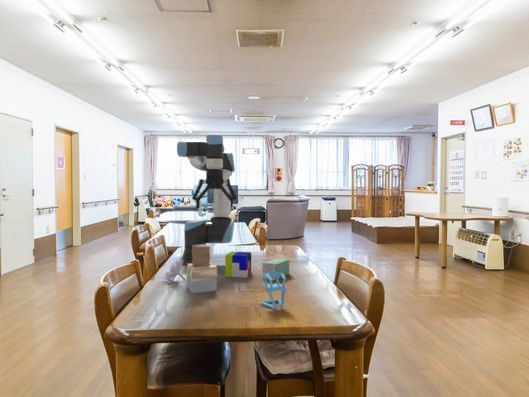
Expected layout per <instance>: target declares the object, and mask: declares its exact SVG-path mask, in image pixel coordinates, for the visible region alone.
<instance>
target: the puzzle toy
mask: <svg viewBox="0 0 529 397" xmlns="http://www.w3.org/2000/svg"><path fill="white" fill-rule="evenodd" d="M224 256H225V257H224V258H225V260H224V261H225V262H224V264H225V265H224V266H225V268H224V269H225V271H224V273H225V274H224V275H225V277H230V278H247V277H248V276H250V274H251V273H252V252H251V251H230V252H228V253H226V254H225V255H224Z"/></svg>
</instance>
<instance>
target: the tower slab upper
mask: <svg viewBox="0 0 529 397" xmlns="http://www.w3.org/2000/svg"><path fill="white" fill-rule="evenodd" d="M186 266H187V267H186V268H187V272H186V277H187V276H188V277H189V278H190V279H191V281H202V280H212V279H217V280H218V266H217V265H215V264H214V263H213V262H211V261H210V266H204V267H194V265H193V264H192V263H191V264H187V265H186Z"/></svg>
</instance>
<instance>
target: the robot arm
mask: <svg viewBox="0 0 529 397" xmlns="http://www.w3.org/2000/svg"><path fill="white" fill-rule="evenodd" d="M176 152H177V156H178V157H180V158H187V159H188V160H189V163H190V164H191V166H192V167H193V168H194V169H197V170H199V171H203V172H205V175H206V176H205V177H206V178H205V179H202V178H200V179H199V180H198V185H197V187H196V189H195V191H194V193H193V195H192V197H191V199H192V200H193V201H195V205H196V209H198V217H201V216H202V200H201V199H202V198H203V197H204V196H205V194H206V193H208V191H209V190H213V216H211V218H210V221H207V219H206V218H205V219H204V218H203V219H202V218H201V219H193V220H189V221H186V222H185V223H184V229H183V231H184V249H183V252H182V255H181V256H182V260H183V264H182V265H185V266H187V264H191V263H192V245H202V244H223V245H224V244H230V243H231V242H232V241H233V236H234V230H235V221H233V220H232V218H231V216H232V211H231V210H232V208H234V207H233V206H234V204H233V203H234V200H237V199H238V198H237V195H236V193H235V190H234V188H233V187H232V185H231V180H230V178H231V176H232V175H233V173H234V172H235V171H236V170H235V162H234V154H233V152H231V151H225V146H224V138H223V135H222V134H219V133H210V134H207V135H206V140H202V141H201V140H200V141H199V140H198V141H197V140H192V141H191V140H183V141H182V140H180V141H179V140H178V142H177V143H176ZM204 184H206V186H205V187H204V189H202V187H203V185H204ZM201 189H202V191H201ZM200 191H201V192H200ZM181 262H182V261H181Z"/></svg>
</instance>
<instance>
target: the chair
mask: <svg viewBox="0 0 529 397" xmlns="http://www.w3.org/2000/svg"><path fill="white" fill-rule="evenodd" d="M280 276H281V277H282V280H283V281H282V283H280V279H279V277H280ZM271 277H277V280H276V283H273V280H272V279H271ZM266 278H268V279H266ZM286 280H287V279H286V276H284V274H282V273H280V272H275V271H270V272H268V273H266V274H265V275H264V284H262V288H263V289H265V290H266V293H267V294H268V295H269V296H268V297H269V298H270V299H269V300H262V301H260V302H259V303H260V304H259V305H261V306H264V307H266V306H267V308H269V307H270V308H269V309H271V310H274V309H275V310H274V311H277V310H278V306H277V304H276V303H278V305H280V306H279V308H280V309H281V310H284V309H285V307H284V305H285V297H286V296H285V295H286V291H287V290H288V287H287V286H286V285H285V283H286ZM268 282H269V283H268ZM274 292H281V299H278V298H277V299H274V297H273V294H272V293H274ZM283 308H284V309H283Z"/></svg>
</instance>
